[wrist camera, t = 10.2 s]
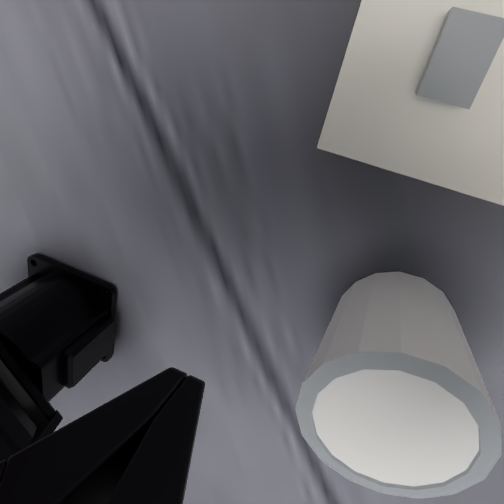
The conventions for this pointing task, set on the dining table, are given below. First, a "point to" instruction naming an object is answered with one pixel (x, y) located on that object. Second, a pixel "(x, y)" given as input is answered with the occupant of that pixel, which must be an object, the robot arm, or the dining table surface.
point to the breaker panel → (409, 119)
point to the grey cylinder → (399, 393)
